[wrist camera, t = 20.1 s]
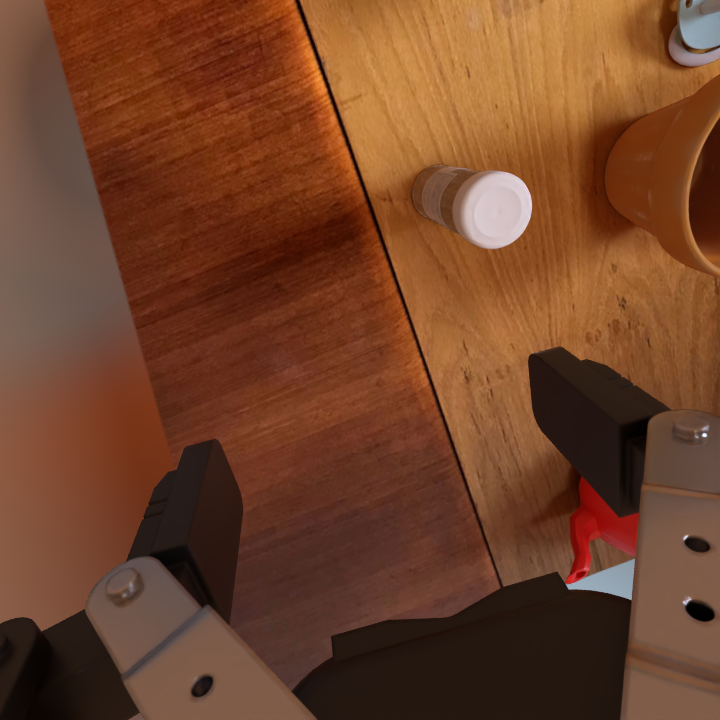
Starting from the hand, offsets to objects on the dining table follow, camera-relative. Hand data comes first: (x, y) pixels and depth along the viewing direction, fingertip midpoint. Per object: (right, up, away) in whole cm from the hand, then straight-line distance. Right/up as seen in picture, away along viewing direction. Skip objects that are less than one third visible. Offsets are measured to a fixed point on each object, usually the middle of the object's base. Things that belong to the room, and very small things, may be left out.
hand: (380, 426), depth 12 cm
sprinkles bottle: (+6, +16, +29) cm, 34 cm away
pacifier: (+27, +29, +27) cm, 48 cm away
